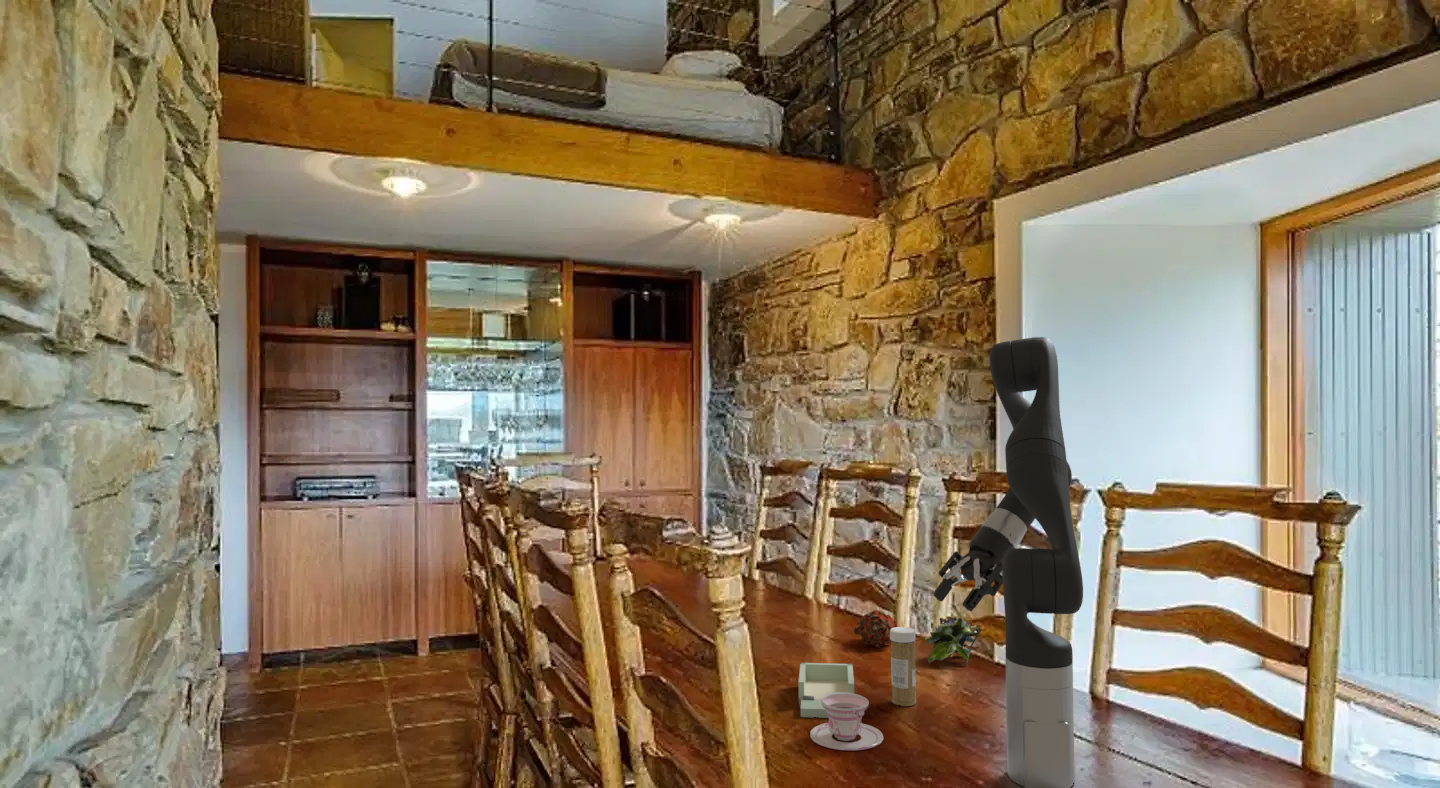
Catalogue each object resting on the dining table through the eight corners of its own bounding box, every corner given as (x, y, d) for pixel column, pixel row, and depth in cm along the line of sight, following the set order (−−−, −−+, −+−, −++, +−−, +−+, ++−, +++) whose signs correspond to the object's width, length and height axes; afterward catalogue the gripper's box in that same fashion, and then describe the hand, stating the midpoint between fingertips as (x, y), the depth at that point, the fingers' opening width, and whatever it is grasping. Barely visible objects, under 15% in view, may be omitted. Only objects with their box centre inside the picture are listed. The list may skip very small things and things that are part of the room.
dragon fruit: (883, 660, 192) (865, 653, 204) (911, 635, 194) (891, 629, 206) (860, 629, 192) (843, 624, 204) (888, 604, 194) (869, 600, 206)
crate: (855, 718, 152) (855, 692, 152) (797, 716, 153) (797, 691, 153) (852, 687, 169) (852, 664, 169) (800, 685, 170) (800, 662, 170)
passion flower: (948, 681, 189) (968, 631, 193) (980, 686, 179) (1000, 633, 184) (908, 655, 187) (929, 605, 191) (938, 659, 177) (960, 606, 181)
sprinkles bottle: (921, 703, 159) (920, 629, 160) (903, 708, 157) (902, 633, 157) (903, 697, 163) (902, 624, 163) (885, 701, 161) (884, 628, 161)
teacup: (797, 730, 147) (797, 693, 148) (860, 721, 152) (859, 685, 152) (831, 757, 136) (830, 717, 136) (897, 745, 140) (897, 707, 141)
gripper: (962, 520, 175) (916, 583, 170) (1013, 529, 162) (964, 598, 157) (984, 544, 177) (939, 607, 172) (1036, 555, 164) (988, 624, 159)
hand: (951, 603), depth 165 cm, fingers open, 8 cm apart
